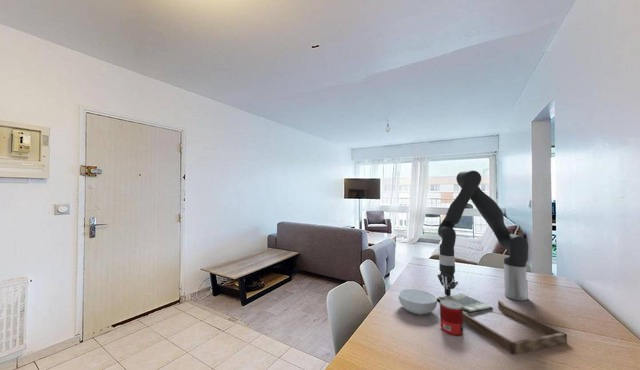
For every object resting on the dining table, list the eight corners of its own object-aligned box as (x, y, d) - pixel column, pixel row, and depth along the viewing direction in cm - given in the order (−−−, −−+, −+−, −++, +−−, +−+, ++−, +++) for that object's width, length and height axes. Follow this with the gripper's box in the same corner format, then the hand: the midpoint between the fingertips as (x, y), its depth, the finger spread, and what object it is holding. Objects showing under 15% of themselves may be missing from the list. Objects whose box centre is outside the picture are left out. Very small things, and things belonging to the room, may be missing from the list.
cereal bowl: (434, 305, 119) (434, 291, 119) (439, 322, 104) (439, 306, 104) (398, 300, 125) (398, 286, 125) (398, 315, 109) (398, 300, 109)
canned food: (466, 337, 93) (465, 308, 93) (443, 335, 94) (443, 306, 95) (458, 326, 100) (458, 300, 101) (438, 324, 102) (437, 298, 102)
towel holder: (499, 307, 117) (499, 300, 117) (571, 342, 90) (571, 333, 90) (447, 315, 109) (447, 307, 110) (508, 355, 82) (507, 345, 82)
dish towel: (461, 296, 131) (461, 290, 131) (494, 311, 114) (493, 304, 114) (434, 300, 125) (434, 294, 125) (464, 318, 108) (464, 310, 108)
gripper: (462, 266, 124) (463, 300, 124) (444, 259, 137) (444, 289, 137) (450, 267, 123) (450, 301, 122) (432, 260, 136) (433, 291, 135)
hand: (447, 295), depth 130 cm, fingers closed
